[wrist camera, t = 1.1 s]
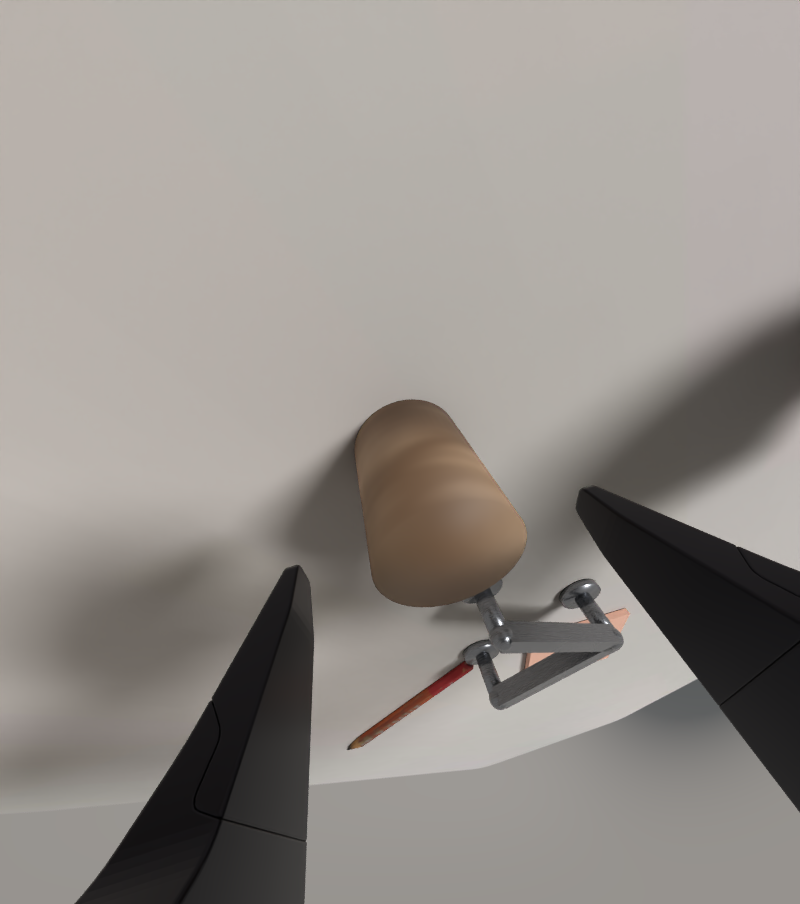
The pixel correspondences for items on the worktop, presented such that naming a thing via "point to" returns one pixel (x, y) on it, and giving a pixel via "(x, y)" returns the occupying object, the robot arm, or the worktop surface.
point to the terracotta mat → (615, 618)
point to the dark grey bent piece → (541, 643)
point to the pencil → (412, 704)
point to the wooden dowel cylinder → (431, 508)
